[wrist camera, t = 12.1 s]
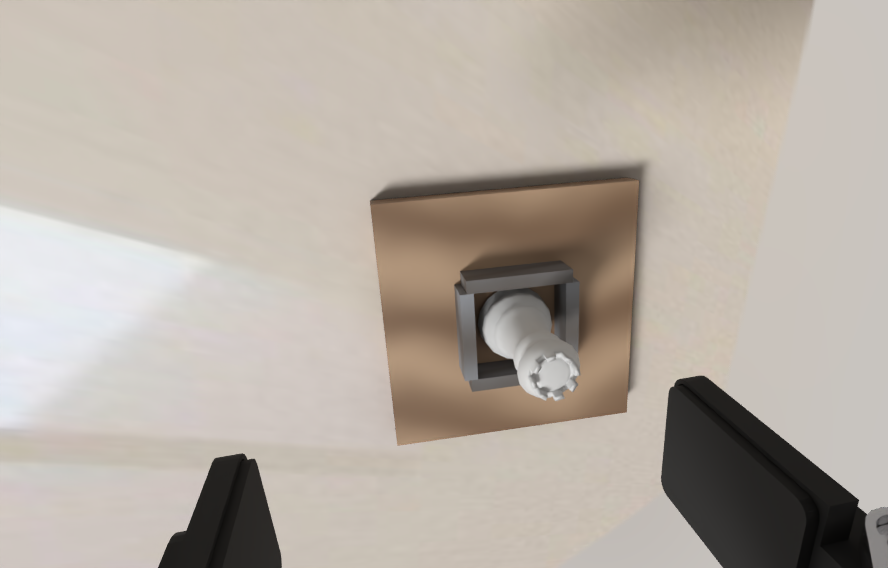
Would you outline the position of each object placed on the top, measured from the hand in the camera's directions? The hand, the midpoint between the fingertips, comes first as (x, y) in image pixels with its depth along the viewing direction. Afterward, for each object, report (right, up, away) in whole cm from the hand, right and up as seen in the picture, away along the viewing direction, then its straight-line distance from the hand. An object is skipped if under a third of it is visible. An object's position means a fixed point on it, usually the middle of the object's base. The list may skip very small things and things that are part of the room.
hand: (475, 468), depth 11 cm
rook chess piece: (+3, +2, +21) cm, 22 cm away
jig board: (+3, +2, +22) cm, 23 cm away
